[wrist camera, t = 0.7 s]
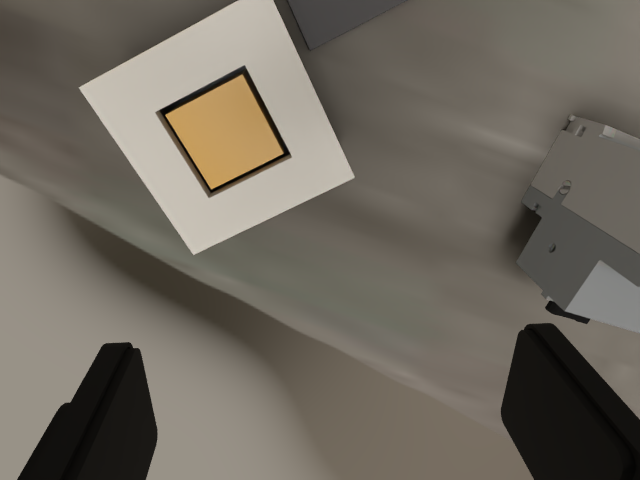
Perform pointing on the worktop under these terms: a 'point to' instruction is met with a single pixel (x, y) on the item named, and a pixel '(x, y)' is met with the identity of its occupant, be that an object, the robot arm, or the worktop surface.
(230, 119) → the button
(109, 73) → the square socket block
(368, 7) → the rubber mat
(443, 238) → the worktop surface
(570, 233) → the circuit breaker
